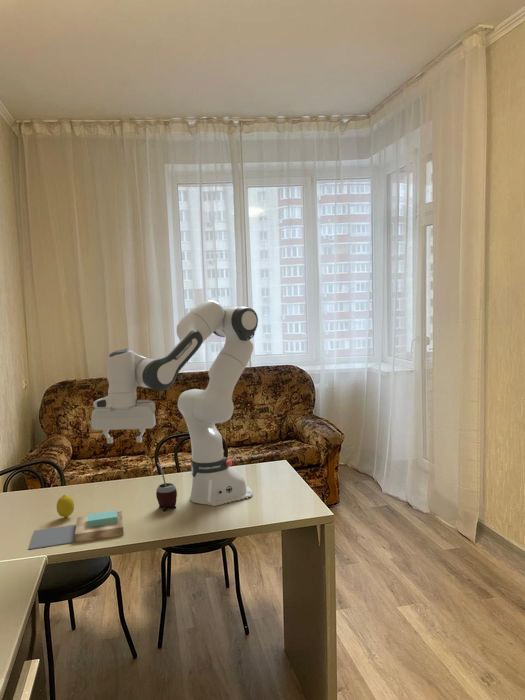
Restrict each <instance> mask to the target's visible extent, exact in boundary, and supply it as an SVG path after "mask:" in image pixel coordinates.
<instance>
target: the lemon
mask: <svg viewBox="0 0 525 700" xmlns="http://www.w3.org/2000/svg"><path fill="white" fill-rule="evenodd" d="M74 510H75V502H74V500H73V497H71V496H69V495H67V494H63V495H62V496H60V497H59V499H57V502H56V512H57V514H58V515H59V516H61V517H62V518H64V519H67V518H68V517H70V516H71V515H72V514H73V513H74Z"/></svg>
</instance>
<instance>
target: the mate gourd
mask: <svg viewBox="0 0 525 700" xmlns="http://www.w3.org/2000/svg"><path fill="white" fill-rule="evenodd" d="M156 464H157V465H158V467H159V469H160V473H161V475H162V480H163V483H161V484H159V485H158V486H157V489H156V494H155V495H156V500H157V502H158V509H163V510H162V512H166V511H168V510H169V509H173V510H174V509H177V506H176V505H177V499H178V491H177V487H176V485H175V484H174V483H171V482H167V483H166V479H165V473H164V470H163V468H162V466H161V464H160V463H159V462H158V461H157V462H156Z"/></svg>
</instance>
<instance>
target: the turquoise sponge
mask: <svg viewBox="0 0 525 700" xmlns="http://www.w3.org/2000/svg"><path fill="white" fill-rule="evenodd" d="M117 512H118V510H117V509H115V510H108V511H102V512H95V513H87V516H88V517H87V526H88V527H94V526H101V525H108V524H114V523H118V518H117Z"/></svg>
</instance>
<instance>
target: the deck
mask: <svg viewBox="0 0 525 700" xmlns="http://www.w3.org/2000/svg"><path fill="white" fill-rule="evenodd" d="M87 517H88V515H86V516H78V517H77V518H76V523H75V524H76V530H75V543H81V542H88V541H94V540H99V539H100V540H101V539H105V538H106V539H107V538H113V537H119V536H124V535H125V532H124V531H125V530H124V522H123V512H122V510H120V511H119V510H118V511H117V518H118V523H114V524H108V525H101V526H94V527H88V526H87Z"/></svg>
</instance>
